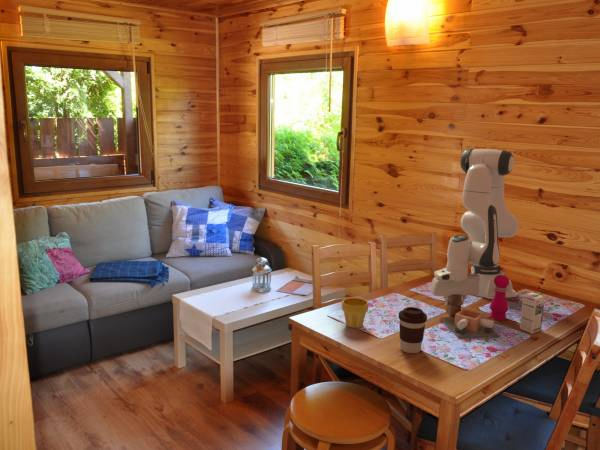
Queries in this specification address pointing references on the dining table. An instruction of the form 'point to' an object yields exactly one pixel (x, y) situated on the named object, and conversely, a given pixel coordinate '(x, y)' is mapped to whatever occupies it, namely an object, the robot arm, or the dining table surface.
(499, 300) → the pepper mill
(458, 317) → the grey base with box
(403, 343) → the coffee cup
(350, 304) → the plant pot
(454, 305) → the walnut coupler
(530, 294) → the syrup box
